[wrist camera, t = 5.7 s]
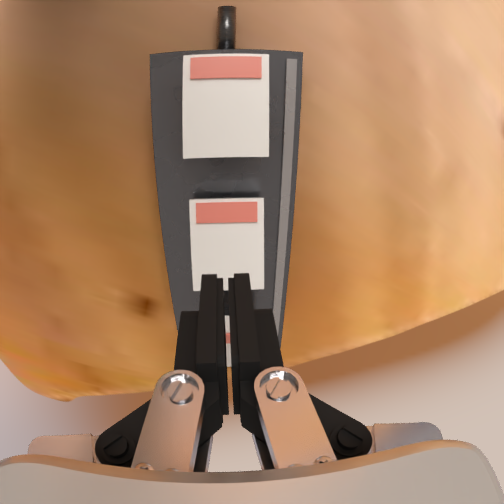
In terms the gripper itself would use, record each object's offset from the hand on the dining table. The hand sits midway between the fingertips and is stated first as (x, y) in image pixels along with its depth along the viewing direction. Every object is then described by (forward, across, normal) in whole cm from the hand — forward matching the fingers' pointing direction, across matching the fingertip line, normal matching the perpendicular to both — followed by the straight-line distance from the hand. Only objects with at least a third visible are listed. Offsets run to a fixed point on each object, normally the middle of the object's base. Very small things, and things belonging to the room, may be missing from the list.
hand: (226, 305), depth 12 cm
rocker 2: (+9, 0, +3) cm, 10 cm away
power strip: (+15, 0, +1) cm, 15 cm away
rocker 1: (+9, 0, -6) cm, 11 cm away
